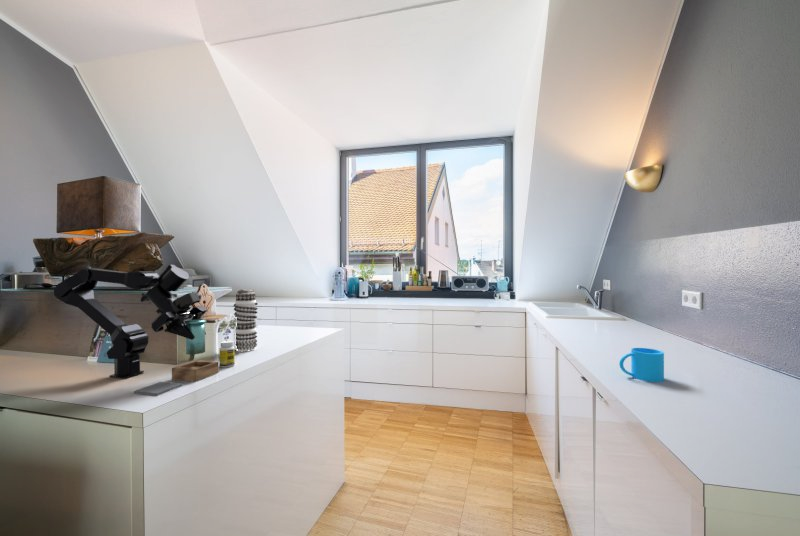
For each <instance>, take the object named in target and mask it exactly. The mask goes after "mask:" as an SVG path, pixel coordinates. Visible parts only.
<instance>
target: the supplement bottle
mask: <svg viewBox="0 0 800 536" xmlns="http://www.w3.org/2000/svg"><path fill="white" fill-rule="evenodd" d="M234 344H235V343H234V340H224V341H221V342H220V348H219V351H218V352H219V354H218V355H219V361H218V367H220V368H226V369H227V368H231V367H233V366H235V359H236V358H235V354H236V353H235V352H236V351H235V349H236V348H235V345H234Z"/></svg>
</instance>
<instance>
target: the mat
mask: <svg viewBox="0 0 800 536" xmlns="http://www.w3.org/2000/svg"><path fill="white" fill-rule="evenodd" d="M182 386H183V383H178V382H167V381H158V382H155V383H152V384H149V385H147V386H144V387H142V388H139V389H136V390H134V391H133V394H136V395H137V394H139V395H148V396H149V395H150V396H160V395H163V394H165V393H168V392H170V391H173V390H175V389H178V388H181V387H182Z"/></svg>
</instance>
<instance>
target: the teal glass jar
mask: <svg viewBox="0 0 800 536" xmlns="http://www.w3.org/2000/svg"><path fill="white" fill-rule="evenodd" d="M184 323H185V325H186V326H187V327H188V329H189V330H190V331H191V332H192V334H193V335H194V337H195V338H194V339H193V340H191V339H188V338H185V353H186V355H189V356H190V355H199V354H204V353H206V335H205V332H206V323H207V319H202V318H201V319H196V320H187V321H184Z"/></svg>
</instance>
